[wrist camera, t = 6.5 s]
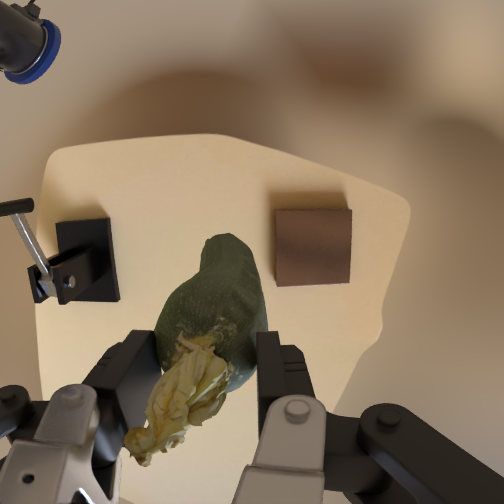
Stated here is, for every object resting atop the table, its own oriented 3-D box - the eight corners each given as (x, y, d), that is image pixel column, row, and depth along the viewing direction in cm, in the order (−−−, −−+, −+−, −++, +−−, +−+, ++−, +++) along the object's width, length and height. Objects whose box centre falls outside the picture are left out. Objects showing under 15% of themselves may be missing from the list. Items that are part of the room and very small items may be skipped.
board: (274, 209, 41) (275, 210, 40) (348, 208, 41) (352, 209, 40) (275, 283, 43) (276, 287, 42) (346, 280, 43) (349, 283, 42)
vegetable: (257, 227, 25) (300, 392, 5) (256, 280, 26) (282, 508, 6) (200, 226, 25) (72, 377, 5) (202, 279, 26) (120, 495, 6)
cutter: (59, 221, 41) (10, 237, 29) (110, 217, 41) (67, 232, 29) (71, 298, 44) (30, 330, 32) (120, 299, 44) (86, 335, 32)
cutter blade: (1, 197, 25) (-10, 211, 24) (33, 192, 25) (22, 206, 24) (46, 281, 34) (39, 296, 33) (76, 282, 34) (70, 297, 33)
